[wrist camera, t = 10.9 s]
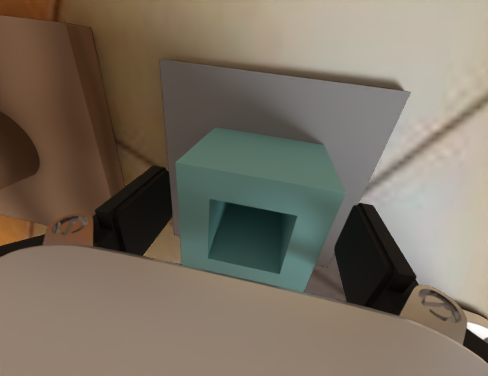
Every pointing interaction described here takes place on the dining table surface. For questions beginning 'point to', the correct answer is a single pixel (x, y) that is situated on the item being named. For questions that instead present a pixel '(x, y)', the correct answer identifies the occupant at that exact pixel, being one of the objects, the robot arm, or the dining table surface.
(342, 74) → the dining table surface
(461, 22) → the dining table surface
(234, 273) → the collar
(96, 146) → the stand
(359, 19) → the dining table surface
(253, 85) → the mat
